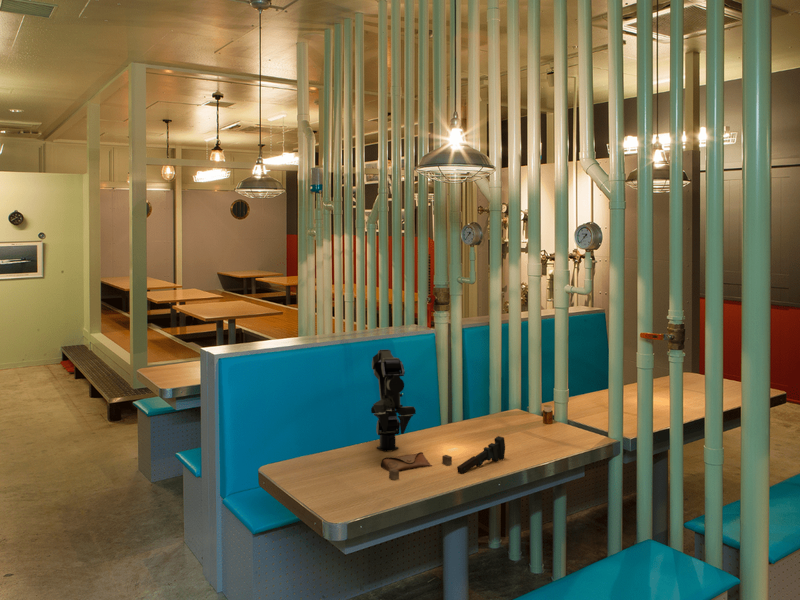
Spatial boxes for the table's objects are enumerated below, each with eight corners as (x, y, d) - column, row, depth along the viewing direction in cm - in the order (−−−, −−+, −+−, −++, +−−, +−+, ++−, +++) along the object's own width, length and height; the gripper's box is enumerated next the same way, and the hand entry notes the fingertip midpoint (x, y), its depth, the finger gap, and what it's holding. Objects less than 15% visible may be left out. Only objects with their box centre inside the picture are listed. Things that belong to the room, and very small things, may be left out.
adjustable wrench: (458, 484, 235) (500, 455, 252) (464, 486, 233) (506, 457, 250) (455, 463, 234) (498, 436, 250) (461, 465, 232) (504, 437, 248)
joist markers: (389, 478, 228) (389, 469, 228) (446, 462, 245) (446, 454, 245) (394, 480, 226) (394, 472, 226) (451, 464, 243) (451, 456, 242)
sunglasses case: (391, 473, 233) (386, 455, 235) (383, 478, 238) (379, 460, 241) (434, 465, 241) (429, 448, 244) (425, 470, 247) (421, 453, 249)
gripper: (360, 392, 249) (361, 433, 247) (395, 393, 236) (396, 437, 234) (381, 390, 257) (382, 430, 255) (415, 391, 244) (417, 433, 242)
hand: (393, 433), depth 247 cm, fingers open, 9 cm apart
